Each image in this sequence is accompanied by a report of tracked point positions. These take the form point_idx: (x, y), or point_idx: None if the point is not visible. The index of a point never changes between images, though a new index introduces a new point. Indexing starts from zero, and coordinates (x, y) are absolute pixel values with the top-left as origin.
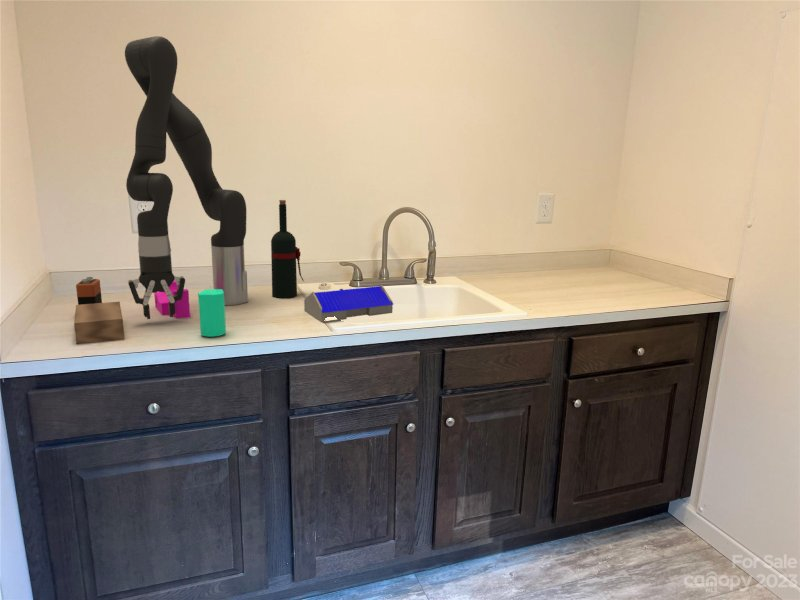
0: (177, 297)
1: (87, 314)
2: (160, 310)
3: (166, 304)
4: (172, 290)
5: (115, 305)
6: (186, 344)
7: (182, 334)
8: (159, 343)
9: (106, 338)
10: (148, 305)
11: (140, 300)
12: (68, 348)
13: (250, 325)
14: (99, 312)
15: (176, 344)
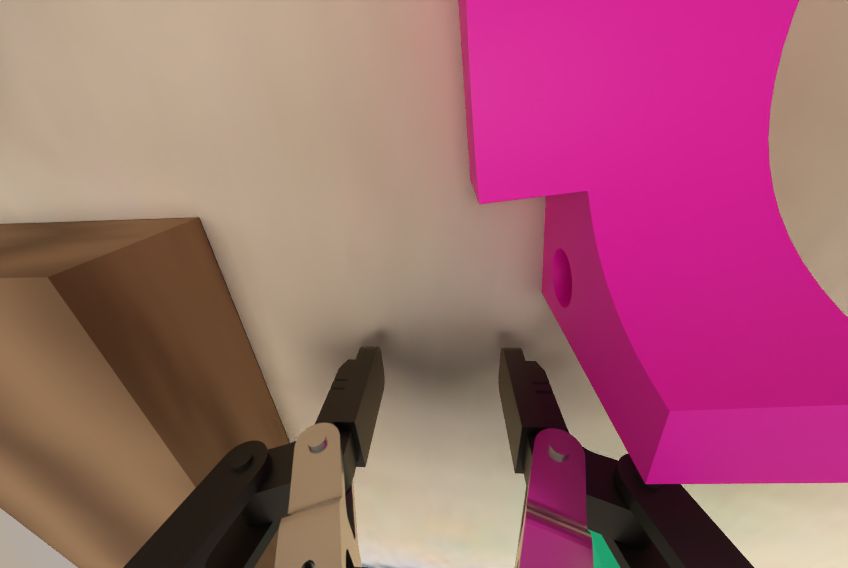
0: (606, 536)
1: (54, 509)
2: (466, 95)
3: (528, 192)
4: (669, 417)
5: (100, 398)
6: (495, 564)
7: (505, 505)
8: (421, 540)
9: None
10: (359, 464)
11: (285, 505)
12: None
13: (810, 505)
14: (97, 501)
15: (468, 557)
